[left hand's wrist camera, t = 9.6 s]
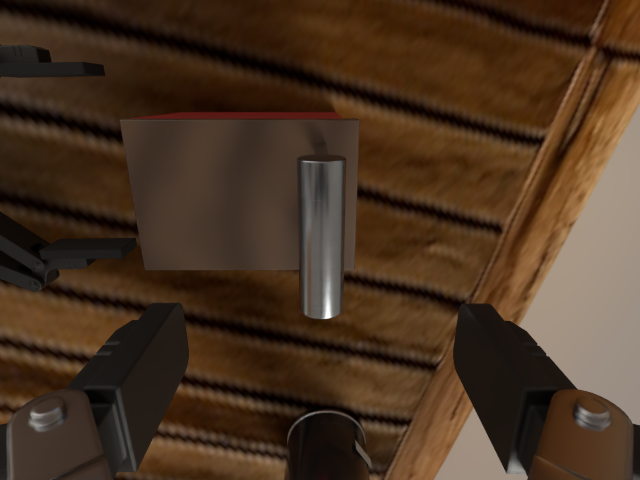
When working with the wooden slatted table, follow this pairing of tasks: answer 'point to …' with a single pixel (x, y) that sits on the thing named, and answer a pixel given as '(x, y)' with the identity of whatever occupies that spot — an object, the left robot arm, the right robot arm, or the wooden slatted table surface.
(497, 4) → the wooden slatted table surface
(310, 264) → the lid
